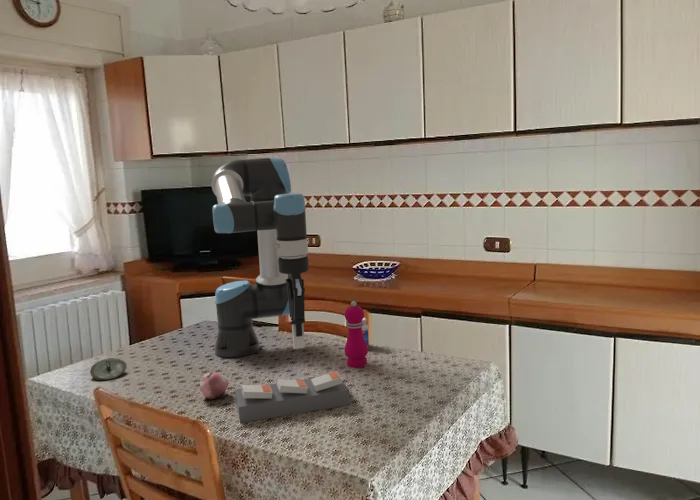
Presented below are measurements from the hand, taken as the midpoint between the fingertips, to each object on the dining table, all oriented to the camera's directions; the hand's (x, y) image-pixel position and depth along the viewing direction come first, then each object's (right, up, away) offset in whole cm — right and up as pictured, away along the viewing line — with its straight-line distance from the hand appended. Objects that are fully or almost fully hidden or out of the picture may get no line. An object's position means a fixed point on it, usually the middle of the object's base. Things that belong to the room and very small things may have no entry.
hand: (299, 347), depth 149 cm
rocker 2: (-2, -10, +1) cm, 10 cm away
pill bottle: (+17, -8, +48) cm, 51 cm away
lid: (-62, -14, +33) cm, 72 cm away
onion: (-24, -16, +12) cm, 31 cm away
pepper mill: (+15, -11, +31) cm, 36 cm away
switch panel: (-2, -15, +3) cm, 16 cm away
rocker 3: (+7, -9, +3) cm, 12 cm away
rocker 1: (-10, -11, -2) cm, 15 cm away
